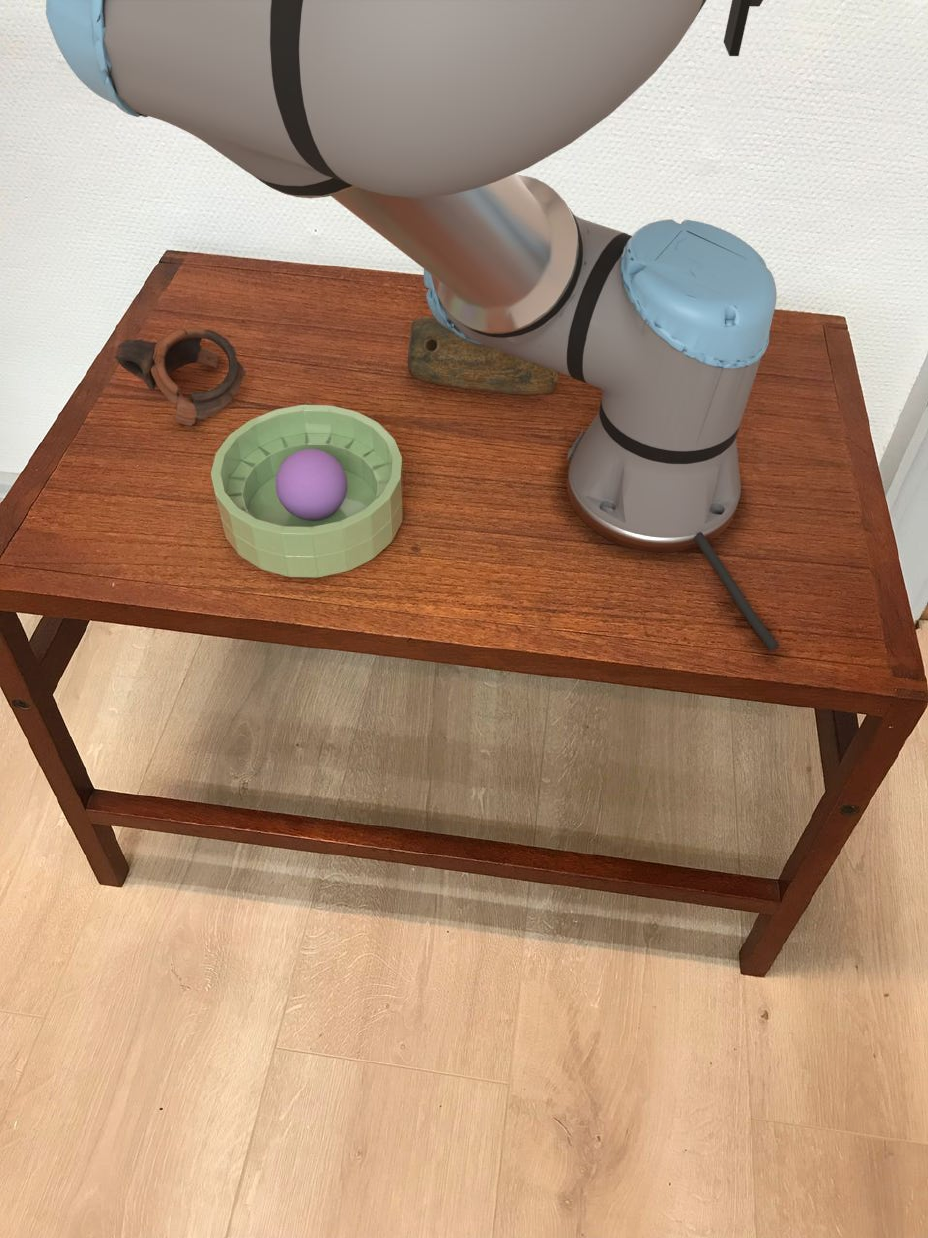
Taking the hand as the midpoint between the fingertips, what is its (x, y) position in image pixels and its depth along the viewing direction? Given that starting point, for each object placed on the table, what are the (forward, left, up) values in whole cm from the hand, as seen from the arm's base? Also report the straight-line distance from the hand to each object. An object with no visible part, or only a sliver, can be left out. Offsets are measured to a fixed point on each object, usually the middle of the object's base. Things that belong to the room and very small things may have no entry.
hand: (647, 48), depth 79 cm
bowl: (-25, +27, -29) cm, 47 cm away
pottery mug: (-9, +41, -29) cm, 51 cm away
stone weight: (-6, +12, -29) cm, 32 cm away
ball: (-25, +27, -25) cm, 45 cm away
